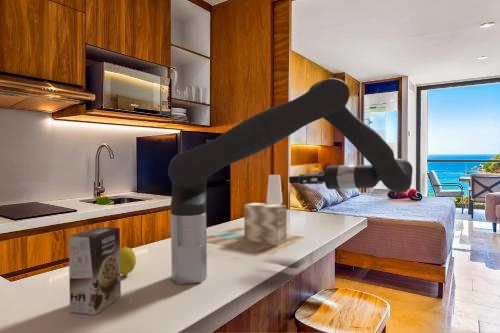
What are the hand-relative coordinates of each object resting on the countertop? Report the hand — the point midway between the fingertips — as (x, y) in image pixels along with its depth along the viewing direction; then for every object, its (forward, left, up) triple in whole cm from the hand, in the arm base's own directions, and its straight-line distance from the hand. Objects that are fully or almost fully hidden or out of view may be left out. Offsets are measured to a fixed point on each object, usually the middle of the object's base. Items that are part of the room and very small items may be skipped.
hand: (294, 178), depth 113 cm
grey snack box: (-31, +56, -24) cm, 68 cm away
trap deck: (+12, +13, -24) cm, 30 cm away
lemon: (-14, +53, -24) cm, 60 cm away
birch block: (+8, +9, -23) cm, 25 cm away
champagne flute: (+27, 0, -24) cm, 36 cm away
